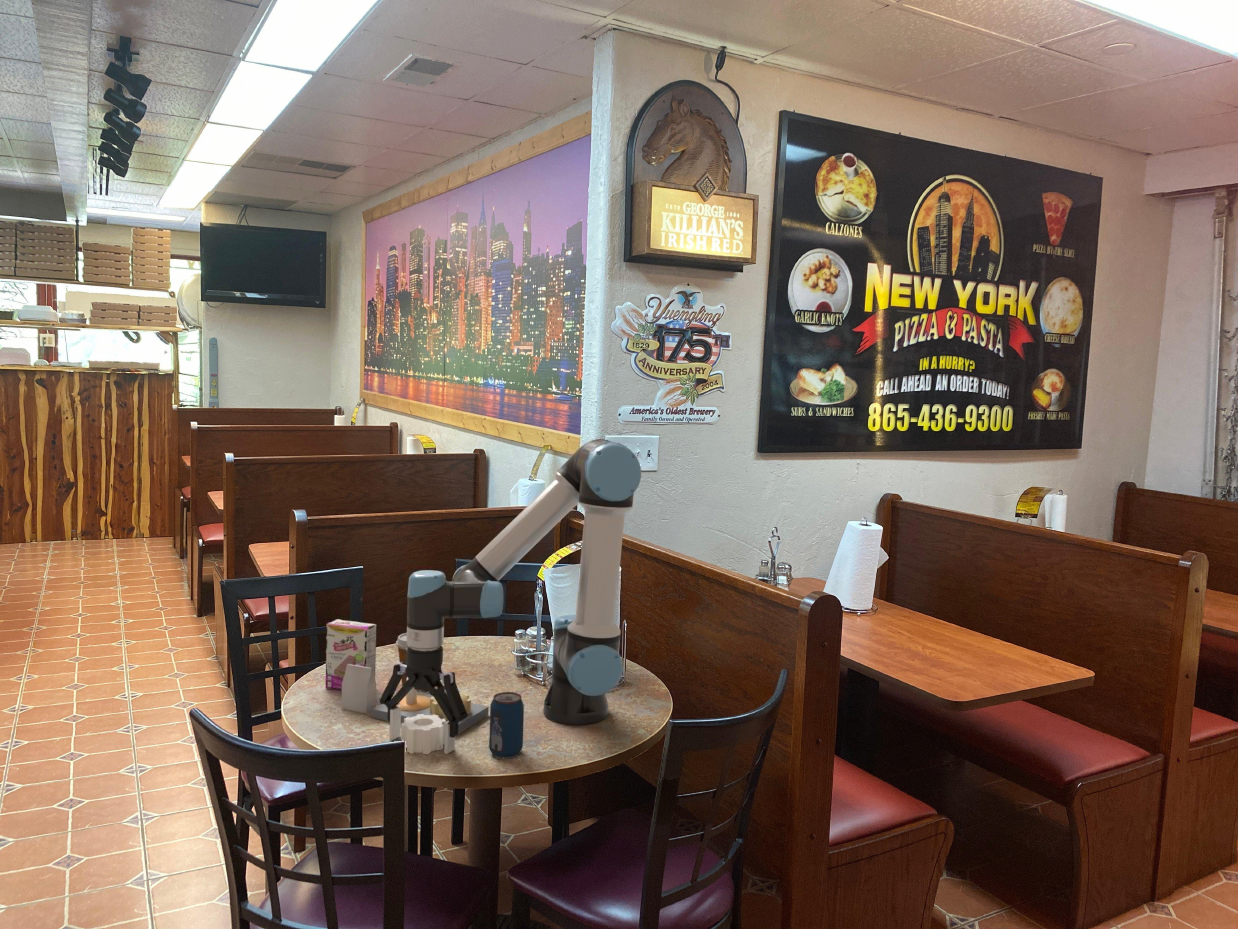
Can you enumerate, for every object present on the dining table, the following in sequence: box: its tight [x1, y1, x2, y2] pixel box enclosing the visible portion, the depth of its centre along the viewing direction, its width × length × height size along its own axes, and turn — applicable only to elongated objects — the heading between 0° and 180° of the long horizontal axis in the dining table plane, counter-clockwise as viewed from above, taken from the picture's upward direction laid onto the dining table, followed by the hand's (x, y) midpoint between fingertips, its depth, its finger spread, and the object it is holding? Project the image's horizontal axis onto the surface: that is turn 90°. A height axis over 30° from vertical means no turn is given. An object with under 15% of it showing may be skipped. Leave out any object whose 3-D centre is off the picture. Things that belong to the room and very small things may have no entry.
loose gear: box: [400, 714, 446, 755], centre depth 185 cm, size 9×9×5 cm
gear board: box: [370, 677, 490, 734], centre depth 200 cm, size 22×14×8 cm, turn 67°
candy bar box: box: [325, 618, 377, 692], centre depth 215 cm, size 11×5×16 cm, turn 76°
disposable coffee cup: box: [395, 632, 408, 686], centre depth 221 cm, size 10×10×12 cm
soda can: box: [488, 691, 525, 760], centre depth 182 cm, size 7×7×12 cm
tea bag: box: [341, 664, 377, 714], centre depth 203 cm, size 4×7×10 cm, turn 70°
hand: (421, 744), depth 185 cm, fingers open, 13 cm apart
